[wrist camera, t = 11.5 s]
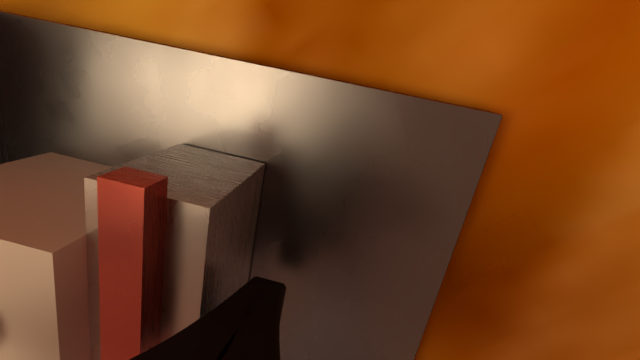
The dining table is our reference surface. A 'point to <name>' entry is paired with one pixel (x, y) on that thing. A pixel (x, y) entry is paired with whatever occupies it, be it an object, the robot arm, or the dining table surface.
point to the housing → (44, 258)
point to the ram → (166, 244)
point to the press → (272, 168)
